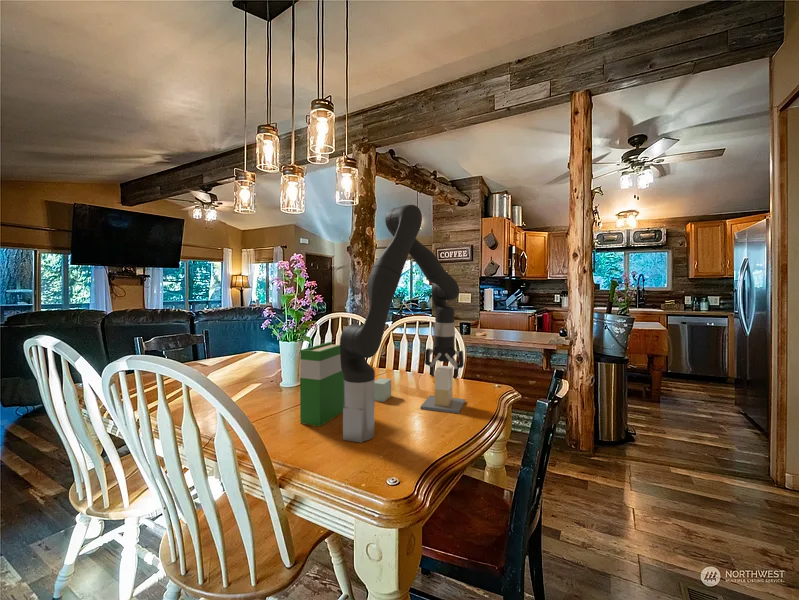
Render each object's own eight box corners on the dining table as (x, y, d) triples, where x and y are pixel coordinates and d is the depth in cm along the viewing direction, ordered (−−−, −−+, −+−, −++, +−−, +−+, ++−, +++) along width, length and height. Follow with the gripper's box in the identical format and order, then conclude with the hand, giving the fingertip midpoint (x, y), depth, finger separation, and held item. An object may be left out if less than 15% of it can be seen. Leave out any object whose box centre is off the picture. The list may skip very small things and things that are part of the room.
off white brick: (448, 390, 134) (448, 371, 133) (435, 389, 135) (435, 370, 135) (452, 384, 141) (452, 366, 141) (439, 383, 143) (440, 365, 143)
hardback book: (329, 406, 136) (329, 342, 135) (347, 409, 134) (347, 343, 132) (300, 423, 120) (300, 350, 119) (319, 426, 117) (319, 351, 116)
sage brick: (383, 402, 142) (384, 384, 142) (371, 400, 144) (372, 382, 143) (391, 396, 150) (391, 379, 149) (379, 394, 151) (379, 377, 151)
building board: (458, 413, 130) (459, 394, 129) (420, 409, 134) (420, 390, 134) (465, 401, 143) (465, 383, 143) (430, 397, 148) (430, 380, 147)
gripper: (423, 334, 136) (422, 378, 137) (462, 336, 132) (461, 381, 132) (428, 332, 143) (428, 373, 144) (465, 334, 139) (464, 376, 139)
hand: (443, 377), depth 138 cm, fingers open, 8 cm apart
